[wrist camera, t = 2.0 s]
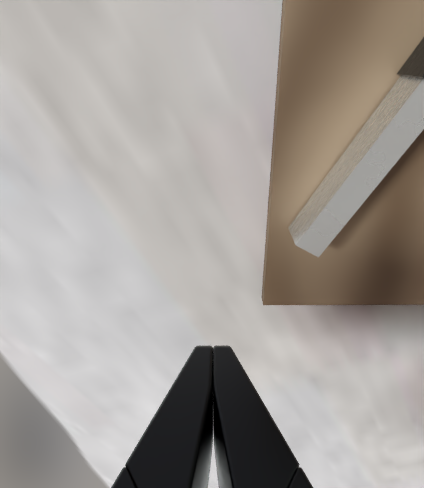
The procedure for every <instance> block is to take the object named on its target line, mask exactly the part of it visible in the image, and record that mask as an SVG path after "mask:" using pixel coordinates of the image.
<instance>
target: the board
mask: <svg viewBox="0 0 424 488" xmlns="http://www.w3.org/2000/svg"><path fill="white" fill-rule="evenodd" d="M423 37H424V0H283V3H282V17H281V32H280V46H279V60H278V74H277V88H276V102H275V117H274V131H273V145H272V159H271V173H270V187H269V201H268V216H267V230H266V244H265V258H264V272H263V286H262V301H263V305H424V129H423V131H422V132H421V133H420V134H419V136H418V137H417V138H416V139H415V140H414V142H413V143H412V144H411V145H410V147H409V148H408V149H407V150H406V151H405V153H404V154H403V155H402V156H401V158H400V159H399V160H398V161H397V162H396V164H395V165H394V166H393V167H392V169H391V170H390V171H389V172H388V173H387V175H386V176H385V177H384V178H383V179H382V181H381V182H380V183H379V184H378V186H377V187H376V188H375V189H374V190H373V192H372V193H371V194H370V195H369V197H368V198H367V199H366V200H365V201H364V203H363V204H362V205H361V206H360V208H359V209H358V210H357V211H356V212H355V214H354V215H353V216H352V217H351V219H350V220H349V221H348V222H347V223H346V225H345V226H344V227H343V228H342V230H341V231H340V232H339V233H338V234H337V236H336V237H335V238H334V239H333V241H332V242H331V243H330V244H329V245H328V247H327V248H326V249H325V250H324V252H323V253H322V254H321V255H320V256H319V257H317V256H315V255H313V254H311V253H309V252H307V251H305V250H304V249H302V248H300V247H298V246H296V245H295V243H294V240H293V238H292V235H291V233H290V231H289V228H288V227H289V226H290V225H291V223H292V222H293V220H294V219H295V218H296V216H297V215H298V214H299V212H300V211H301V210H302V208H303V207H304V206H305V204H306V203H307V202H308V200H309V199H310V197H311V196H312V195H313V193H314V192H315V191H316V189H317V188H318V187H319V185H320V184H321V183H322V181H323V180H324V179H325V177H326V176H327V175H328V173H329V172H330V170H331V169H332V168H333V166H334V165H335V164H336V162H337V161H338V160H339V158H340V157H341V156H342V154H343V153H344V152H345V150H346V149H347V147H348V146H349V145H350V143H351V142H352V141H353V139H354V138H355V137H356V135H357V134H358V133H359V131H360V130H361V129H362V127H363V126H364V124H365V123H366V122H367V120H368V119H369V118H370V116H371V115H372V114H373V112H374V111H375V110H376V108H377V107H378V106H379V104H380V103H381V101H382V100H383V99H384V97H385V96H386V95H387V93H388V92H389V91H390V89H391V88H392V87H393V85H394V84H395V83H396V81H397V80H398V78H399V77H400V76H399V75H397V73H398V71H399V70H400V69H401V67H402V66H403V65H404V63H405V62H406V60H407V59H408V58H409V56H410V55H411V54H412V52H413V51H414V50H415V48H416V47H417V45H418V44H419V43H420V41H421V40H422V39H423Z"/></svg>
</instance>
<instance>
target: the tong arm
mask: <svg viewBox="0 0 424 488" xmlns="http://www.w3.org/2000/svg"><path fill="white" fill-rule="evenodd" d="M397 75H399V76H400V77H399V78H398V80H397V81H396V83H395V84H394V85H393V87H392V88H391V89H390V91H389V92H388V93H387V95H386V96H385V97H384V99H383V100H382V101H381V103H380V104H379V106H378V107H377V108H376V110H375V111H374V112H373V114H372V115H371V116H370V118H369V119H368V120H367V122H366V123H365V124H364V126H363V127H362V129H361V130H360V131H359V133H358V134H357V135H356V137H355V138H354V139H353V141H352V142H351V143H350V145H349V146H348V147H347V149H346V150H345V152H344V153H343V154H342V156H341V157H340V158H339V160H338V161H337V162H336V164H335V165H334V166H333V168H332V169H331V170H330V172H329V173H328V175H327V176H326V177H325V179H324V180H323V181H322V183H321V184H320V185H319V187H318V188H317V189H316V191H315V192H314V193H313V195H312V196H311V197H310V199H309V200H308V202H307V203H306V204H305V206H304V207H303V208H302V210H301V211H300V212H299V214H298V215H297V216H296V218H295V219H294V220H293V222H292V223H291V225H290V226H289V227H288V228H289V231H290V233H291V235H292V238H293V240H294V243H295V245H296V246H298V247H300V248H302V249H304V250H305V251H307V252H309V253H311V254H313V255H315V256H317V257H319V256H320V255H321V254H322V253H323V252H324V250H325V249H326V248H327V247H328V245H329V244H330V243H331V242H332V241H333V239H334V238H335V237H336V236H337V234H338V233H339V232H340V231H341V230H342V228H343V227H344V226H345V225H346V223H347V222H348V221H349V220H350V219H351V217H352V216H353V215H354V214H355V212H356V211H357V210H358V209H359V208H360V206H361V205H362V204H363V203H364V201H365V200H366V199H367V198H368V197H369V195H370V194H371V193H372V192H373V190H374V189H375V188H376V187H377V186H378V184H379V183H380V182H381V181H382V179H383V178H384V177H385V176H386V175H387V173H388V172H389V171H390V170H391V169H392V167H393V166H394V165H395V164H396V162H397V161H398V160H399V159H400V158H401V156H402V155H403V154H404V153H405V151H406V150H407V149H408V148H409V147H410V145H411V144H412V143H413V142H414V140H415V139H416V138H417V137H418V136H419V134H420V133H421V132H422V131H423V129H424V37H423V39H422V40H421V41H420V43H419V44H418V45H417V47H416V48H415V50H414V51H413V52H412V54H411V55H410V56H409V58H408V59H407V60H406V62H405V63H404V65H403V66H402V67H401V69H400V70H399V71H398V73H397Z"/></svg>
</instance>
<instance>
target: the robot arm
mask: <svg viewBox="0 0 424 488" xmlns="http://www.w3.org/2000/svg"><path fill="white" fill-rule="evenodd" d="M213 431H214V449H215V458H216V467H217V475H218V484H219V488H313V487H312V485H311V483H310V482H309V480H308V478H307V476H306V475H305V473H304V471H303V469H302V468H300V467H299V463H298V461H297V460H296V458H295V456H294V454H293V453H292V451H291V449H290V448H289V446H288V444H287V442H286V441H285V439H284V437H283V436H282V434H281V432H280V430H279V429H278V427H277V425H276V424H275V422H274V420H273V418H272V417H271V415H270V413H269V412H268V410H267V408H266V406H265V405H264V403H263V401H262V400H261V398H260V396H259V394H258V393H257V391H256V389H255V388H254V386H253V384H252V382H251V381H250V379H249V377H248V376H247V374H246V372H245V370H244V369H243V367H242V365H241V364H240V362H239V360H238V358H237V357H236V355H235V353H234V352H233V350H232V348H231V347H230V346H214V348H212V346H196V347H195V348H194V350H193V352H192V353H191V355H190V357H189V358H188V360H187V362H186V363H185V365H184V367H183V368H182V370H181V372H180V373H179V375H178V377H177V378H176V380H175V382H174V383H173V385H172V387H171V389H170V390H169V392H168V394H167V395H166V397H165V399H164V400H163V402H162V404H161V405H160V407H159V409H158V410H157V412H156V414H155V415H154V417H153V419H152V420H151V422H150V424H149V425H148V427H147V429H146V431H145V432H144V434H143V436H142V437H141V439H140V441H139V442H138V444H137V446H136V447H135V449H134V451H133V452H132V454H131V456H130V457H129V459H128V461H127V462H126V465H125V466H126V467H124V468H123V469H122V470H121V472H120V474H119V476H118V477H117V479H116V481H115V482H114V484H113V486H112V487H111V488H208V480H209V472H210V463H211V455H212V444H213Z"/></svg>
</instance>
